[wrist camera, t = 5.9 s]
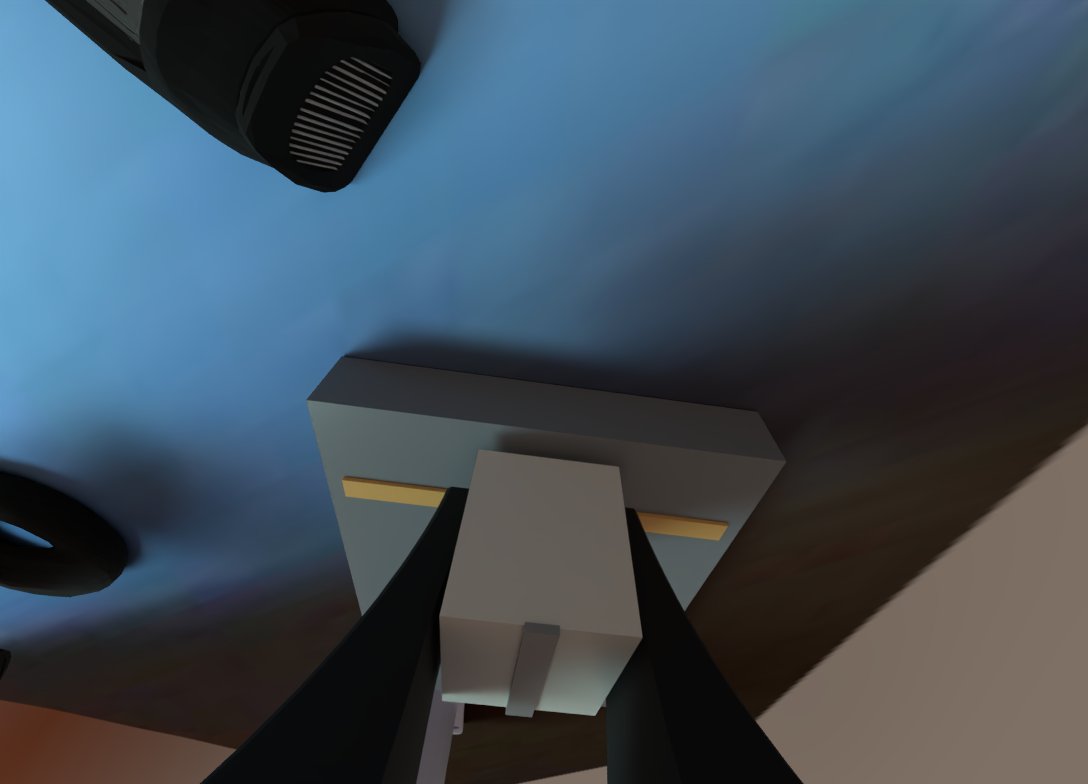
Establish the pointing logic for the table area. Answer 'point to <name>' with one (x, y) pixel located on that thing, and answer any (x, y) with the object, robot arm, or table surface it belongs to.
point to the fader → (539, 588)
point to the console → (536, 430)
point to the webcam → (55, 545)
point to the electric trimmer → (266, 73)
